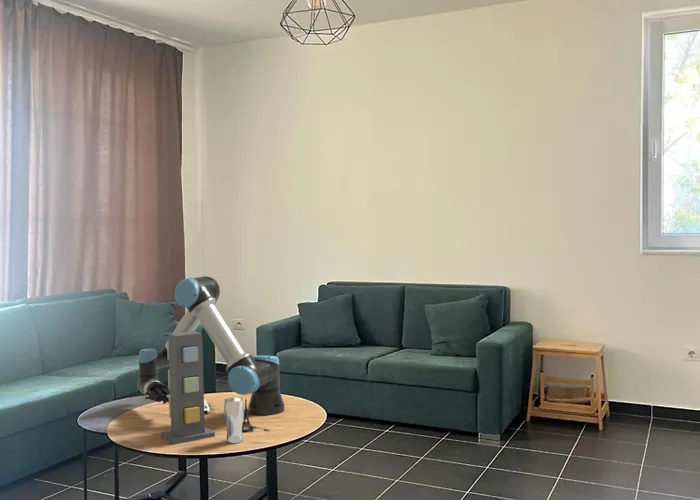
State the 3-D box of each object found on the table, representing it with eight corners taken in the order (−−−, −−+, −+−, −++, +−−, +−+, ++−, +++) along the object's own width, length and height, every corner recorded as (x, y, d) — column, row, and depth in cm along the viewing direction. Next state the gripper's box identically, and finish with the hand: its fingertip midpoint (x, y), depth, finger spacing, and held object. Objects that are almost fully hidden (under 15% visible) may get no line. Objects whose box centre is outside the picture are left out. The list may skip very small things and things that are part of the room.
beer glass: (225, 438, 246) (224, 397, 246) (245, 437, 247) (244, 396, 247) (223, 444, 239) (222, 402, 239) (243, 443, 240) (242, 401, 240)
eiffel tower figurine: (271, 431, 256) (270, 396, 256) (251, 438, 248) (250, 401, 248) (244, 425, 265) (243, 391, 265) (224, 431, 258) (223, 396, 257)
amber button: (169, 417, 257) (168, 398, 257) (187, 414, 261) (186, 396, 261) (183, 426, 243) (183, 407, 243) (202, 423, 247) (202, 404, 247)
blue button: (167, 359, 257) (167, 340, 257) (185, 357, 261) (185, 338, 260) (182, 365, 243) (181, 346, 243) (200, 363, 247) (200, 343, 246)
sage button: (168, 388, 257) (167, 369, 257) (186, 385, 261) (186, 367, 261) (182, 396, 243) (182, 376, 243) (201, 393, 247) (201, 374, 247)
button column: (161, 436, 251) (158, 333, 250) (203, 429, 260) (200, 329, 259) (171, 444, 241) (168, 337, 240) (214, 436, 250) (211, 333, 249)
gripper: (171, 396, 287) (190, 408, 267) (139, 401, 280) (156, 413, 260) (170, 379, 287) (189, 389, 267) (139, 383, 280) (156, 394, 260)
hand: (173, 401), depth 263 cm, fingers closed
